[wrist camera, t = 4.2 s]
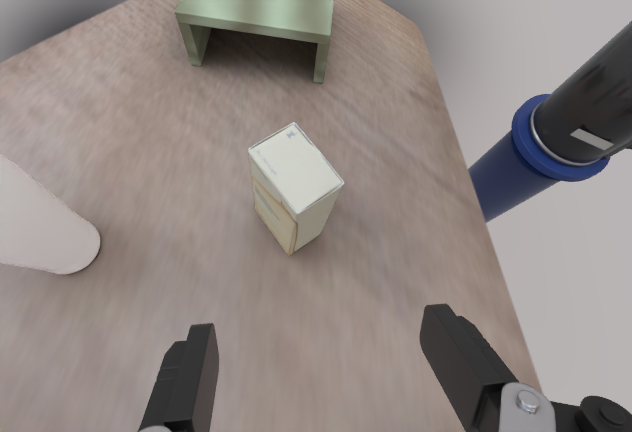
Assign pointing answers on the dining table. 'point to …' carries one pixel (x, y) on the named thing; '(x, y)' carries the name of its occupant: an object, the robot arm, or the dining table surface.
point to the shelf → (257, 23)
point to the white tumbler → (41, 226)
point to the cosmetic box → (292, 186)
